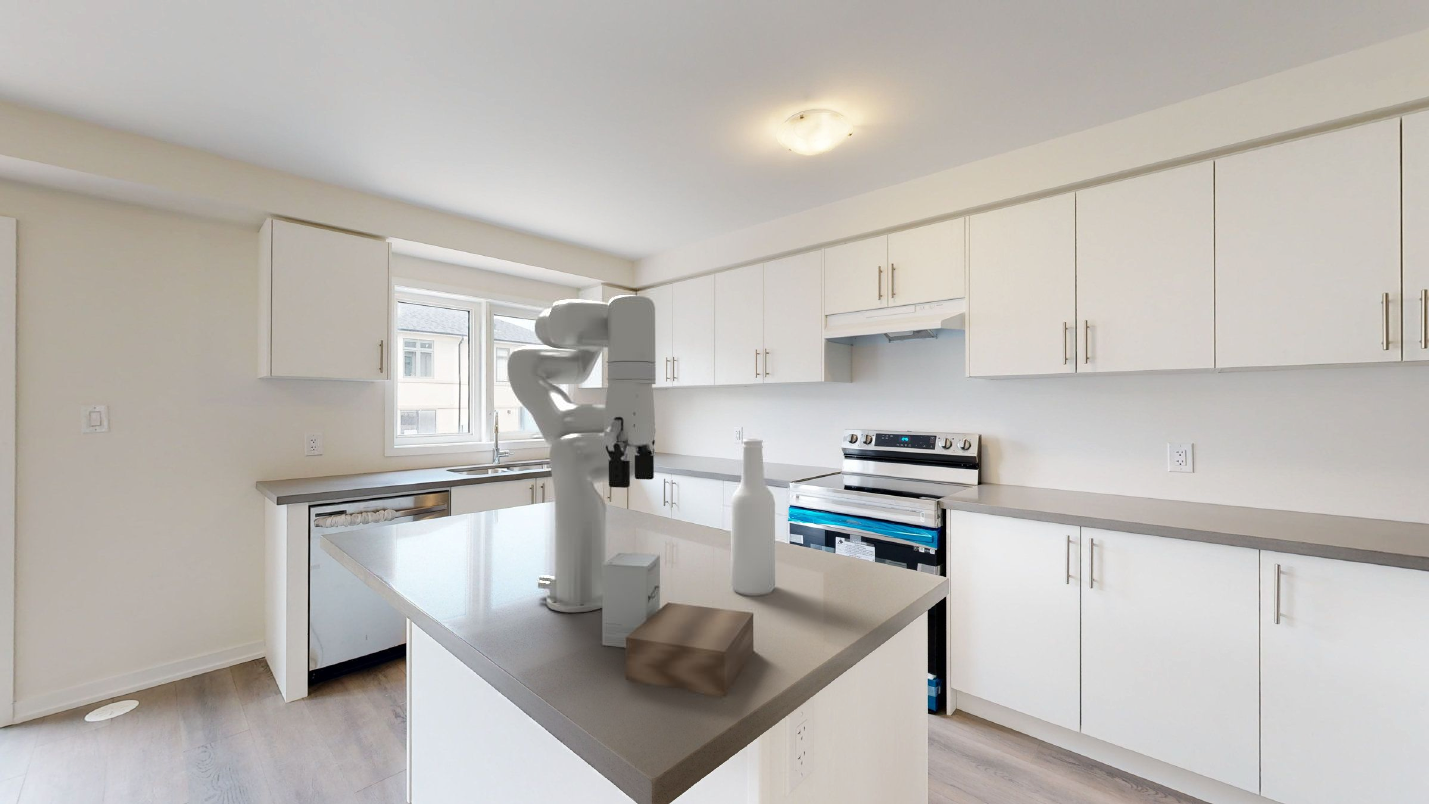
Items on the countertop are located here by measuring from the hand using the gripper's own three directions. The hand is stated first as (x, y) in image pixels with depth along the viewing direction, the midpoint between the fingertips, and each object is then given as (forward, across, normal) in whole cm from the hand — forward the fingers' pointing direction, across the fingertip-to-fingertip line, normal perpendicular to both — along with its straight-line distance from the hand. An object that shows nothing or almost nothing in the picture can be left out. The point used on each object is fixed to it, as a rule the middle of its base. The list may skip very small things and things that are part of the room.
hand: (632, 482), depth 88 cm
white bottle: (+25, -28, +14) cm, 40 cm away
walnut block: (+25, +6, +12) cm, 28 cm away
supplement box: (+25, 0, 0) cm, 25 cm away
